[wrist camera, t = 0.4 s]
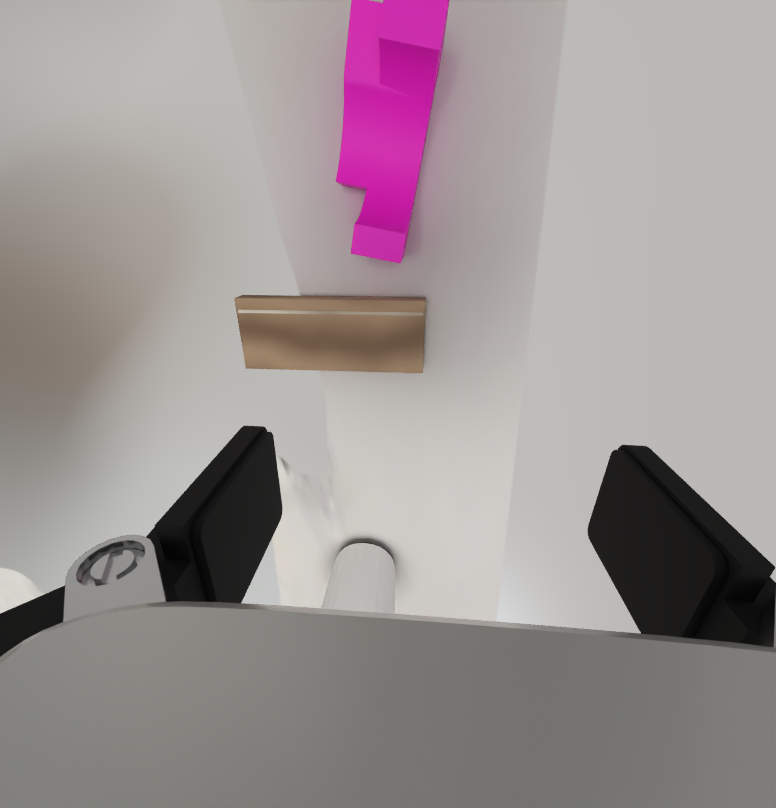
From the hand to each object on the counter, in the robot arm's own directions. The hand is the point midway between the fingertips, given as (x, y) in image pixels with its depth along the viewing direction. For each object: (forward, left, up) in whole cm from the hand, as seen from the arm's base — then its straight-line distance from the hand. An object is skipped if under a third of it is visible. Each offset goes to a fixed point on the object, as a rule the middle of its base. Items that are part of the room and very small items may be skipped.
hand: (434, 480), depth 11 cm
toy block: (-12, -4, -29) cm, 31 cm away
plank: (+3, -9, -28) cm, 30 cm away
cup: (+34, -6, -29) cm, 45 cm away
